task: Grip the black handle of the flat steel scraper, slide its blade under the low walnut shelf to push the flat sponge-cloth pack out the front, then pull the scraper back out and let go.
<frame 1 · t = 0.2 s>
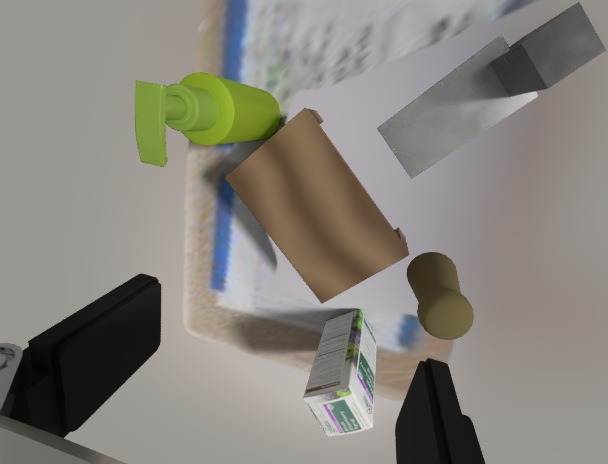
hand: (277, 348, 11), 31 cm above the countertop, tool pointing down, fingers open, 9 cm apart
syrup box: (350, 329, 46), on the countertop
soap dispenser: (258, 119, 39), on the countertop
cork: (431, 273, 40), on the countertop
low shelf: (323, 203, 41), on the countertop
scraper: (515, 67, 32), on the countertop
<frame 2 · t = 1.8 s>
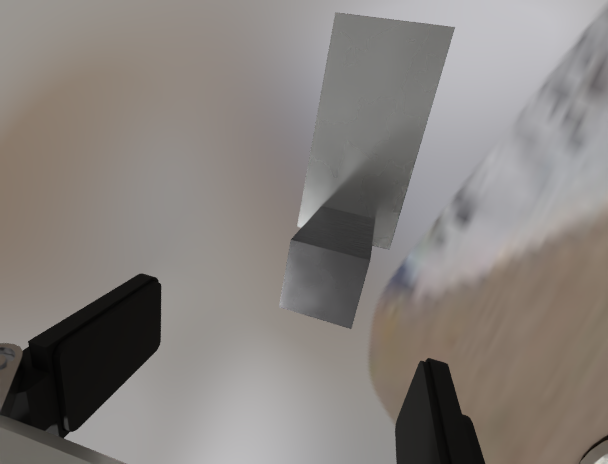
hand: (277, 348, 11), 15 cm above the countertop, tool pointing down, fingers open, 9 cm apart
scraper: (344, 232, 24), on the countertop
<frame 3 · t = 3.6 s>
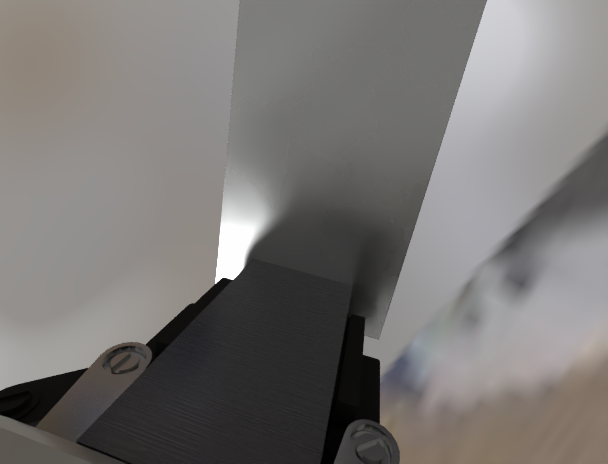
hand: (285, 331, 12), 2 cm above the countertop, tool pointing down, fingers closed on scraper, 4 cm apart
scraper: (300, 299, 14), on the countertop, touching gripper
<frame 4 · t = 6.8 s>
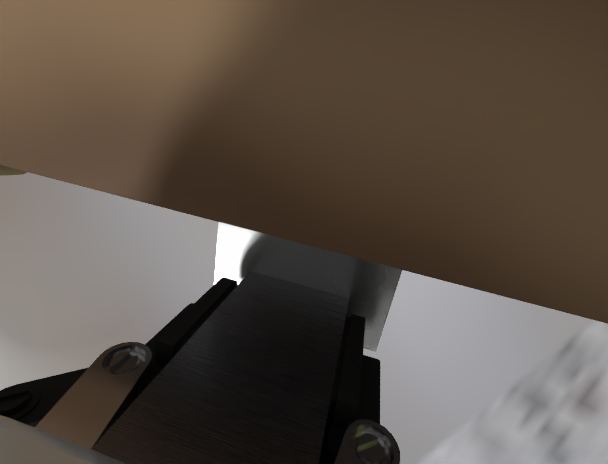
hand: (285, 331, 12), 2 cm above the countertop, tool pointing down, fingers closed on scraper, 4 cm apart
scraper: (297, 310, 14), on the countertop, touching gripper
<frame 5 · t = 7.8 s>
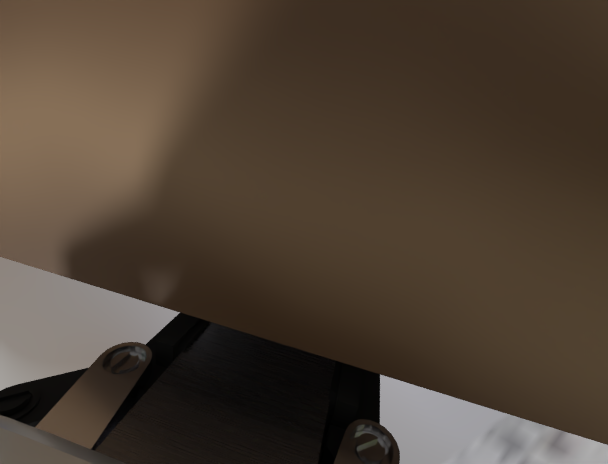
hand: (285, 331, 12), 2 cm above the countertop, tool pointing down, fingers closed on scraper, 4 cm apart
low shelf: (339, 85, 11), on the countertop
scraper: (297, 312, 14), on the countertop, touching gripper
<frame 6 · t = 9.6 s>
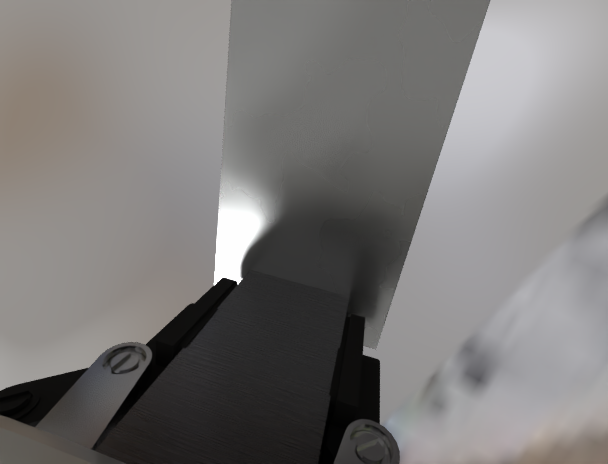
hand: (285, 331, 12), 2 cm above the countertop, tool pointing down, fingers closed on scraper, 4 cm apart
scraper: (298, 307, 14), on the countertop, touching gripper
when the fingers open (2 cm above the countertop, at t = 10.4 s): scraper stays where it is, on the countertop.
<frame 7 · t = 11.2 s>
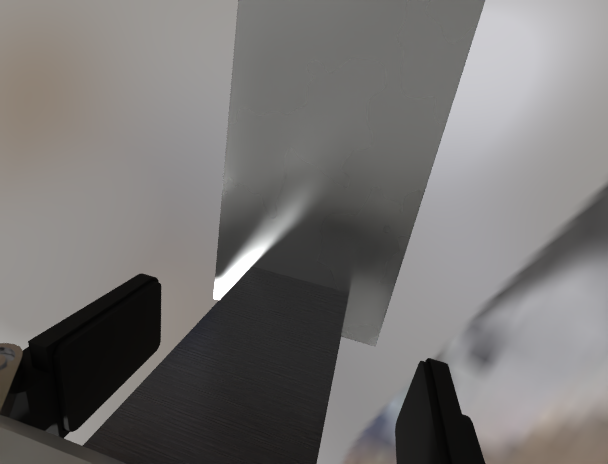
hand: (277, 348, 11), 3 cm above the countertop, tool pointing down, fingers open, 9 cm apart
scraper: (298, 306, 14), on the countertop
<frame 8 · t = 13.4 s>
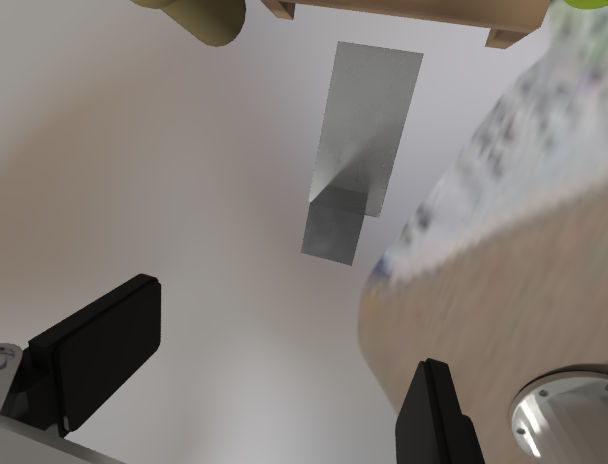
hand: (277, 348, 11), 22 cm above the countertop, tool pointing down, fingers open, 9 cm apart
cork: (216, 10, 29), on the countertop
scraper: (344, 206, 32), on the countertop
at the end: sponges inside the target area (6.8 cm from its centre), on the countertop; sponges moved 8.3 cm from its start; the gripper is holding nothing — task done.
